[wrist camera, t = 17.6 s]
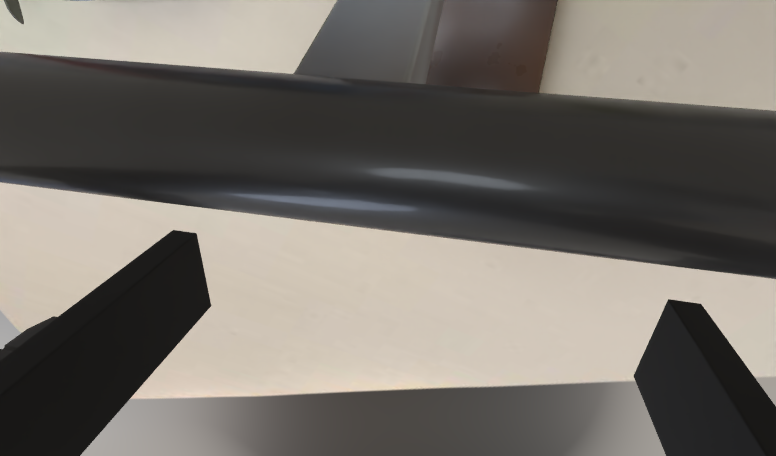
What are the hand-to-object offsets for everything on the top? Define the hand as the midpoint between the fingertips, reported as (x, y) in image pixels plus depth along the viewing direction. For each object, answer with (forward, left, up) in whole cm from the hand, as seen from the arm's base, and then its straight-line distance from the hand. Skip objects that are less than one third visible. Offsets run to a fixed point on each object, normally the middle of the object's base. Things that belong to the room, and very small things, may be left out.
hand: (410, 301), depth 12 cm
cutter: (+6, -4, 0) cm, 7 cm away
